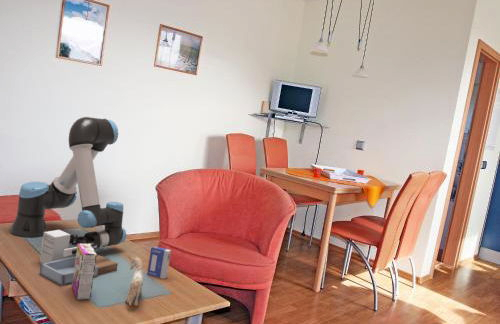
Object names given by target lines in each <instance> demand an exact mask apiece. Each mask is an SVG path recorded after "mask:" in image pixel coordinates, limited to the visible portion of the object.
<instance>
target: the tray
mask: <svg viewBox="0 0 500 324" xmlns="http://www.w3.org/2000/svg"><path fill="white" fill-rule="evenodd" d="M75 260H76V256H73V257H67V258H66V259H61V260H57V261H52V262H47V263H40V267H39V275H40V276H42V277H44V278H46V279H48V280H49V281H52V282H54V283H55V284H57V285H59V286H65V285H70V284H72V282H73V275H74V268H75ZM98 267H99V266H95V270H94V277H93V278H97V277H98V276H97V274H98Z"/></svg>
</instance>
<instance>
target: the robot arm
mask: <svg viewBox="0 0 500 324" xmlns="http://www.w3.org/2000/svg"><path fill="white" fill-rule="evenodd" d="M118 138H119V129H118V125H116V123H115V122H114V121H113V120H111V119H107V118H97V117H96V118H95V117H90V116H84V117H83V116H82V117H80V118H77V120H76V121H74V122H73V124H72V125H71V127H70V129H69V133H68V146H69V150H71V151H72V157H71V159H70V160H69V162H68V163H67V165H66V167H65V168H64V169H63V171H62V173H61V174H60V176H57V177H55V178H54V179H52V182H51V183H50V184H48V183H46V182H43V181H29V182H25V183H23V184H22V185H21V186H20V189H19V193H18V203H17V210H16V211H17V213H16V215H15V218H14V220H13V223H12V224H11V226H10V230H9V231H10V233H11V234H13V236H17V237H24V238H36V237H37V238H38V237H43V235H44V232H47V224H46V219H45V214H46V213H45V212H46V210H53V209H65V208H68V207H70V206H72V205H73V204H74V203H75V202H76V199H77V194H78V192H79V198H80V203H81V211H79V212H78V215H77V223H78V225H79V226H80V227H81V228H84V229H90V228H97V227H99V226H102V225H105V230H98V231H96V230H95V231H94V230H93V231H88V232H86V233H85V234H84V235H83V236H81V235H79V236H78V234H70V242H69V245H72V246H75V247H69V249H64V253H63V256H64V257H65V256H68V257H70V256H74V255H76V252H77V244H80V243H82V244H91V245H92V247H93V248H94V250H95V251H96V250H97V249H101V248H105V247H109V246H116V245H119V244H120V245H121V244H122V243H124V242H125V241H126V239H127V231H126V229H125V228H124V227H123V218H124V217H123V216H124V204H123V203H122V202H120V201H119V202H118V201H109V202H107V203H106V206H105V207H103V208H101V203H100V198H99V191H98V184H97V179H96V172H95V166H94V160H95V159H96V157H97V156H98V153H102V152H104V151H105V149H106V148H107V146H108V145H109V146H110V145H113V144H115V143H116V142H117V141H118ZM77 186H78V191H77ZM42 242H43V238H42V239H41V245H40V246H41V247H42Z"/></svg>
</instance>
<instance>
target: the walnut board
mask: <svg viewBox="0 0 500 324" xmlns="http://www.w3.org/2000/svg"><path fill="white" fill-rule="evenodd" d="M95 266H99V267H98V274H97V277H98V276H101V275H105V274H109V273H113V272H116V271H118V266H119V265H118V263H117V262H116V261H113V260H111V259H109V258H106V257H105V256H102V255H101V254H97V256H96V263H95Z"/></svg>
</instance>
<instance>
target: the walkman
mask: <svg viewBox="0 0 500 324" xmlns="http://www.w3.org/2000/svg"><path fill="white" fill-rule="evenodd" d="M149 253H150V254H149V259H148V265H147V273H146V275H148V276H151V277H155V278H159V279H164V280H165V279H167V277H168V274H169V273H168V271H169V267H170V260H171V255H172V249H168V248H164V247H159V246H156V245H153V246H151V249H150V252H149Z"/></svg>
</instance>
